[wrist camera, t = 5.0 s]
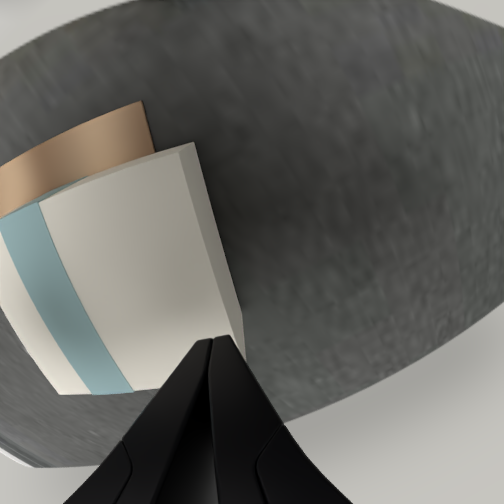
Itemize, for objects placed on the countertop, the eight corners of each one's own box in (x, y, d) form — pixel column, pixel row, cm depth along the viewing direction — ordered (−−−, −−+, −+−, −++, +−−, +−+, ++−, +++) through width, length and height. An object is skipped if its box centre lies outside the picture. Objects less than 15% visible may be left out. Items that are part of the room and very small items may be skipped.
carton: (177, 150, 9) (-33, 236, 9) (247, 375, 12) (59, 396, 13) (193, 140, 13) (20, 204, 13) (242, 313, 17) (85, 342, 17)
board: (142, 100, 12) (140, 100, 12) (222, 351, 18) (221, 353, 18) (-43, 196, 12) (-45, 197, 12) (45, 371, 18) (44, 373, 18)
